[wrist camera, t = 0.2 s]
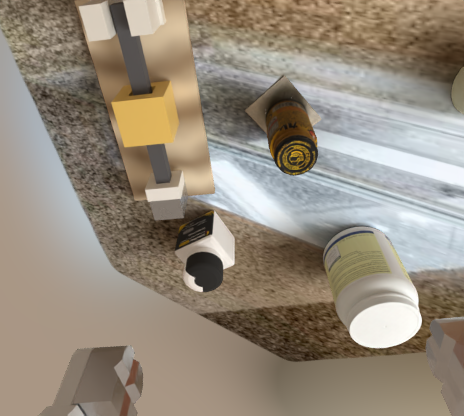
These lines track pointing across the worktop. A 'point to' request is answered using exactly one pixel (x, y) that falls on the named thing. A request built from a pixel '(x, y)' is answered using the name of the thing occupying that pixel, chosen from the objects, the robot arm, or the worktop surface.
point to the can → (458, 91)
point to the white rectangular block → (165, 187)
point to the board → (185, 94)
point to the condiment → (287, 127)
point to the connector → (170, 207)
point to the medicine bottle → (205, 251)
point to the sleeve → (146, 115)
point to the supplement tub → (371, 288)
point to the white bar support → (137, 11)
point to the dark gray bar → (139, 84)
